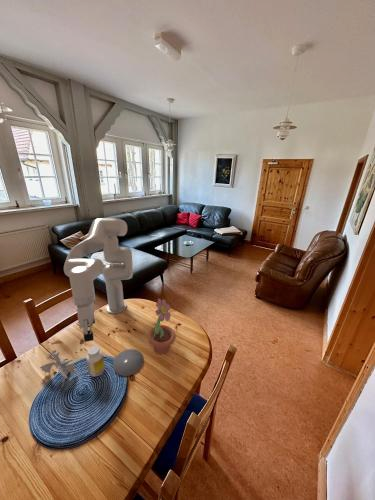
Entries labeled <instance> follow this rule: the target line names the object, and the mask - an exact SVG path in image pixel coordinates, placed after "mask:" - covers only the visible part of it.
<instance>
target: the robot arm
mask: <svg viewBox="0 0 375 500" xmlns="http://www.w3.org/2000/svg"><path fill="white" fill-rule="evenodd" d="M127 232H128V224H127V222H126V221H125V220H123V219H120V218H118V217H100V218H96V219H94V220H93V221H92V223H91V225H90V227H89V230H88V233H87V237H86V239H84V240H82V241H80V242H79V243H77V244H76V245H74V246H73V247H72V248H71V249H70V250H69V252H68V254H67V256H66V259H65V262H64V265H63V272H64V274H65V276H66V277H68V278H69V282H70V288H71V289H70V290H71V293H72V294H71V295H72V299H73V304H74V305H75V306H76V312H77V319H78V320H77V321H78V328H79V329H80V330H81V329H82V330H83V331H82V332H83V333H82V334H83V340H84V343H85V342H91V341H94V333H93V331H92V330H93V329H92V327H93V326H94V325H95V323H96V321H95V320H96V319H95V305H94V303H95V301H96V293H95V287H94V281H95V280H96V279H97V278H98V277H101V275H103V279H104V281H105V287H106V288H105V289H106V296H107V303H108V304H106V307H105V308H106V312H107V313H109V314H111V315H112V314H113V315H115V314H120V313H122V312H124V311H125V310H126V308H127V303H126V302H125V301H124V291H123V283H122V281H121V280H123V281H124V280H130V279H132V278H133V275H134V268H133V267H134V266H133V253H132V249H131V248H130V247H128V246H127V247H126V246H119V239H118V237H124V236H125V235H126V234H127ZM102 250H103V258H104V261H105V262H106V263H107V264H106V265H104V261H103V260H101V259H99V258H83V257H85V256H87V255H90V254H93V253H96V252H99V251H102ZM108 263H109V264H108Z"/></svg>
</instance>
